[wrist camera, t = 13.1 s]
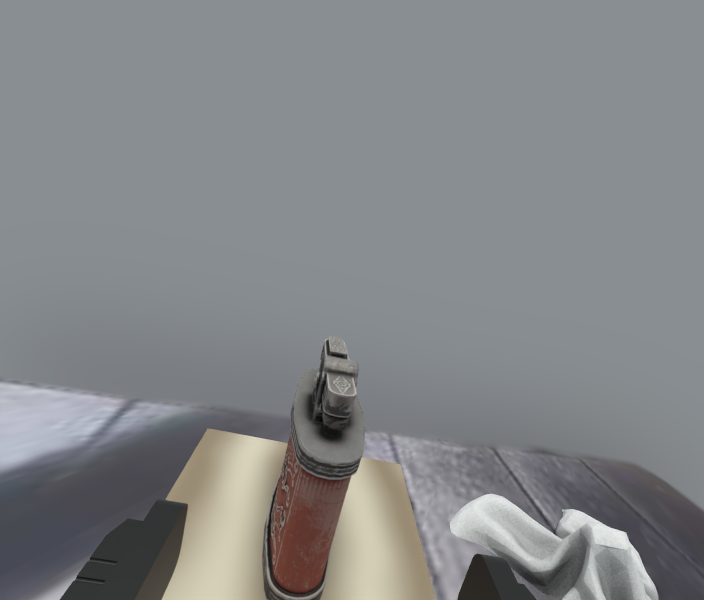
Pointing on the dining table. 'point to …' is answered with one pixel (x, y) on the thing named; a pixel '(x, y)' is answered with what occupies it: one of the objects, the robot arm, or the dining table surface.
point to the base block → (250, 516)
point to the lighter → (313, 477)
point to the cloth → (558, 551)
